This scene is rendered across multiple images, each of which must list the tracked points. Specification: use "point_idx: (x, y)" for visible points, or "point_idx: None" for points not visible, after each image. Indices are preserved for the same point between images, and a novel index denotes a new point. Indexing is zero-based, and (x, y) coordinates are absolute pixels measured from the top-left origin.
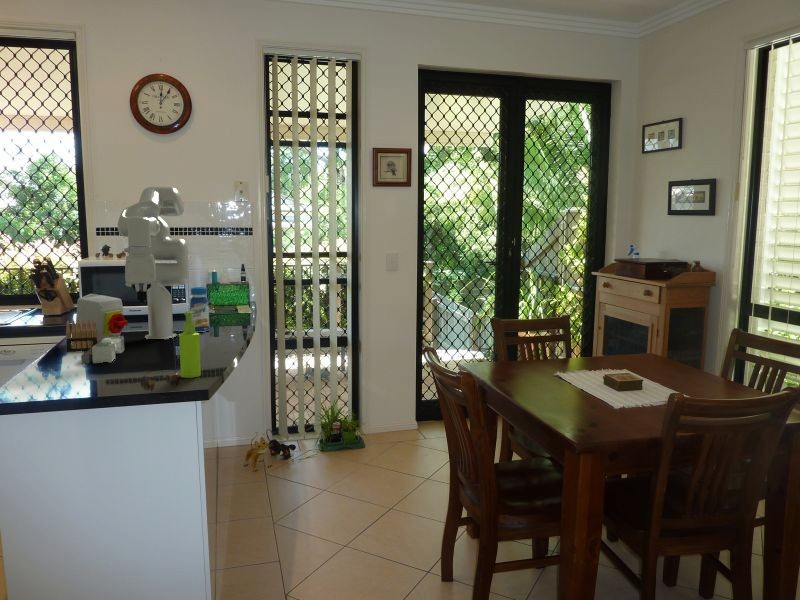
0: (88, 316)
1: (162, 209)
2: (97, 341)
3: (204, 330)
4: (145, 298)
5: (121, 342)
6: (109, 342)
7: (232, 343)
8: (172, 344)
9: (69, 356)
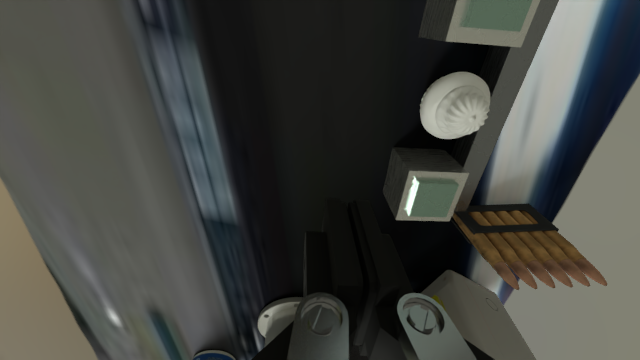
0: (507, 349)
1: None
2: (463, 228)
3: (199, 356)
4: (313, 236)
5: (400, 172)
6: (458, 95)
7: (57, 216)
8: (252, 241)
9: (540, 139)
